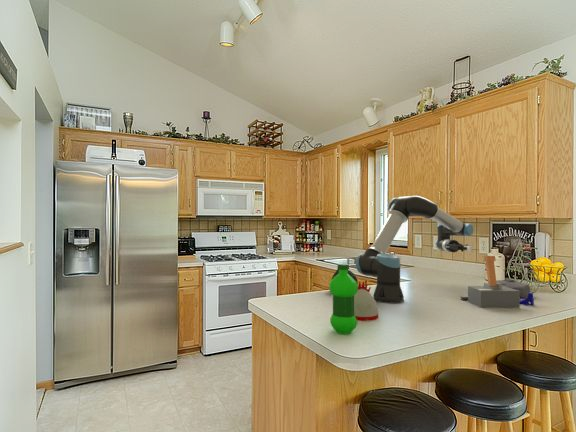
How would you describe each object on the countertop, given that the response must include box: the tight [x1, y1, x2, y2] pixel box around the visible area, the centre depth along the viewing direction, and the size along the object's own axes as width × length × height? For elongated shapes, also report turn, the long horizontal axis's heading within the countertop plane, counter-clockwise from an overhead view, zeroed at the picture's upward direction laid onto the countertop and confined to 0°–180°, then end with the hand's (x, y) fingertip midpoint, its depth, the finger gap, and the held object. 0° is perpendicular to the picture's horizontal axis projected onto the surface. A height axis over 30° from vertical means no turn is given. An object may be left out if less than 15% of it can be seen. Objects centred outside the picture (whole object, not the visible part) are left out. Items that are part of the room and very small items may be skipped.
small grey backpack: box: [496, 279, 531, 299], centre depth 190 cm, size 15×8×20 cm
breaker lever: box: [483, 255, 497, 288], centre depth 168 cm, size 4×3×15 cm
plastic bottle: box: [328, 263, 359, 335], centre depth 126 cm, size 10×10×25 cm
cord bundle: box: [460, 296, 468, 301], centre depth 176 cm, size 21×3×1 cm, turn 89°
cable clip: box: [520, 291, 535, 307], centre depth 170 cm, size 12×4×6 cm, turn 47°
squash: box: [330, 268, 359, 286], centre depth 198 cm, size 14×15×15 cm
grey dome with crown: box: [354, 281, 379, 322], centre depth 147 cm, size 14×14×15 cm
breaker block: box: [467, 282, 521, 309], centre depth 166 cm, size 18×12×10 cm, turn 89°
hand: (471, 249), depth 187 cm, fingers closed
